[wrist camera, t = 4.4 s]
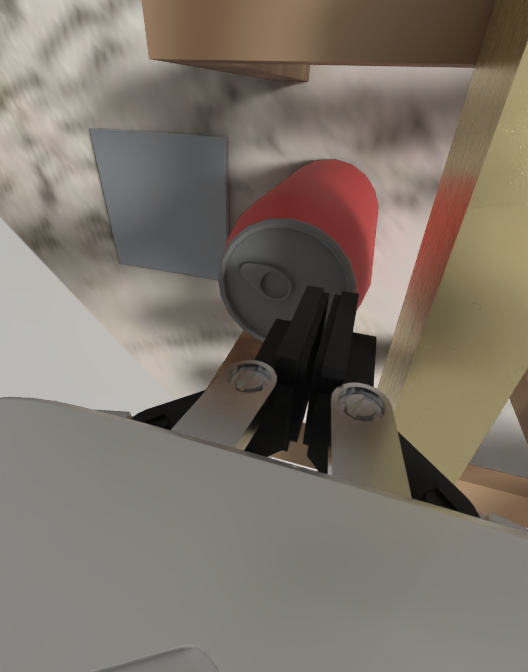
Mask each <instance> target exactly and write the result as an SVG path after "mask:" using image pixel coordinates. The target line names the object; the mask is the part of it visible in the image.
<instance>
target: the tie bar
mask: <svg viewBox="0 0 528 672" xmlns="http://www.w3.org/2000/svg"><path fill="white" fill-rule="evenodd" d="M527 368H528V0H495V3H494V7H493V10H492V13H491V17H490V20H489V23H488V26H487V30H486V33H485V36H484V40H483V43H482V46H481V49H480V53H479V56H478V59H477V63H476V66H475V69H474V72H473V76H472V79H471V82H470V86H469V89H468V92H467V96H466V99H465V102H464V105H463V109H462V112H461V115H460V119H459V122H458V125H457V128H456V132H455V135H454V138H453V142H452V145H451V148H450V151H449V155H448V158H447V161H446V165H445V168H444V171H443V174H442V178H441V181H440V184H439V188H438V191H437V194H436V197H435V201H434V204H433V207H432V211H431V214H430V217H429V220H428V224H427V227H426V230H425V234H424V237H423V240H422V243H421V247H420V250H419V253H418V257H417V260H416V263H415V266H414V270H413V273H412V276H411V280H410V283H409V286H408V289H407V293H406V296H405V299H404V303H403V306H402V309H401V312H400V316H399V319H398V322H397V326H396V329H395V332H394V335H393V339H392V342H391V345H390V349H389V352H388V355H387V359H386V362H385V365H384V368H383V372H382V375H381V378H380V382H379V385H378V388H377V389H378V390H379V391H381V392H382V393H384V394H385V396H386V397H387V398H388V399H389V400H390V403H391V405H392V408H393V413H394V417H395V422H396V427H397V431H398V432H399V433H400V434H401V435H402V436H404V437H405V438H406V439H407V440H408V441H409V442H410V443H411V444H412V445H413V446H414V447H415V448H416V449H417V450H418V451H419V452H420V453H421V454H422V455H423V456H424V457H425V458H427V459H428V460H429V461H430V462H431V463H432V464H433V465H434V466H435V467H436V468H437V469H438V470H439V471H440V472H441V473H442V474H443V475H444V476H445V477H446V478H447V479H449V480H450V481H451V482H452V483H453V484H454V485H456V483H457V481H458V480H459V478H460V476H461V475H462V473H463V472H464V470H465V468H466V467H467V465H468V464H469V462H470V460H471V459H472V457H473V455H474V454H475V452H476V451H477V449H478V447H479V446H480V444H481V443H482V441H483V439H484V438H485V436H486V435H487V433H488V431H489V430H490V428H491V426H492V425H493V423H494V422H495V420H496V418H497V417H498V415H499V414H500V412H501V410H502V409H503V407H504V405H505V404H506V402H507V401H508V399H509V397H510V396H511V394H512V393H513V391H514V389H515V388H516V386H517V385H518V383H519V381H520V380H521V378H522V376H523V375H524V373H525V372H526V370H527Z"/></svg>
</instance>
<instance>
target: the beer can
mask: <svg viewBox="0 0 528 672" xmlns="http://www.w3.org/2000/svg"><path fill="white" fill-rule="evenodd" d="M377 217H378V202H377V198H376V193H375V189H374V188H373V186H372V185H371V183H370V181H369V180H368V178H367V177H366V175H365V174H363V173H362V172H361V171H360V170H358V169H357V168H356V167H354V166H353V165H352V164H349V163H346V162H343V161H339V160H336V159H329V160H317V161H314V162H312V163H309V164H307V165H305V166H302V167H301V168H299V169H298V170H297V171H296V172H294V173H293V174H292V175H290V176H289V177H288V178H286V179H285V180H284V181H282V182H281V183H280V184H278V185H277V186H276V187H275V188H273V189H272V190H271V191H269V192H268V193H267V194H265V195H264V196H263V197H261V198H260V199H259V200H258V201H256V202H255V203H254V204H253V205H252V206H251V207H250V208H248V209H247V210H246V211H245V212H244V213H243V214H242V215H240V217H239V219H238V221H237V222H236V224H235V226H234V228H233V230H232V231H231V233H230V235H229V238H228V240H227V243H226V249H225V251H224V253H223V255H222V257H221V260H220V266H219V272H218V282H219V288H220V294H221V298H222V300H223V302H224V304H225V306H226V308H227V310H228V312H229V314H230V315H231V316H232V317H233V319H234V320H235V321H236V322H237V323H238V324H239V325H240V327H241V328H242V329H244V330H245V331H246V332H248V333H249V334H251V335H252V336H254V337H255V338H256V339H258V340H260V341H263V342H264V340H265V338H266V337H267V335H268V333H269V331H270V329H271V327H272V325H273V323H274V321H275V320H276V319H277V318H278V319H283V320H288V321H291V320H292V318H293V316H294V313H295V311H296V309H297V307H298V305H299V302H300V300H301V298H302V296H303V294H304V292H305V289H306V287H307V285H308V286H315V287H321V288H324V293H330V296H329V302H328V309H327V315H326V322H327V319H328V315H329V312H330V308H331V305H332V302H333V298H334V295H335V294H337V295H341V294H342V291H346V292H352V293H359V298H358V304H357V309H358V308H359V306H360V305H361V303H362V301H363V299H364V297H365V295H366V293H367V291H368V288H369V286H370V284H371V275H372V266H373V256H374V246H375V236H376V227H377ZM326 322H325V326H326ZM324 329H325V328H324Z"/></svg>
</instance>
